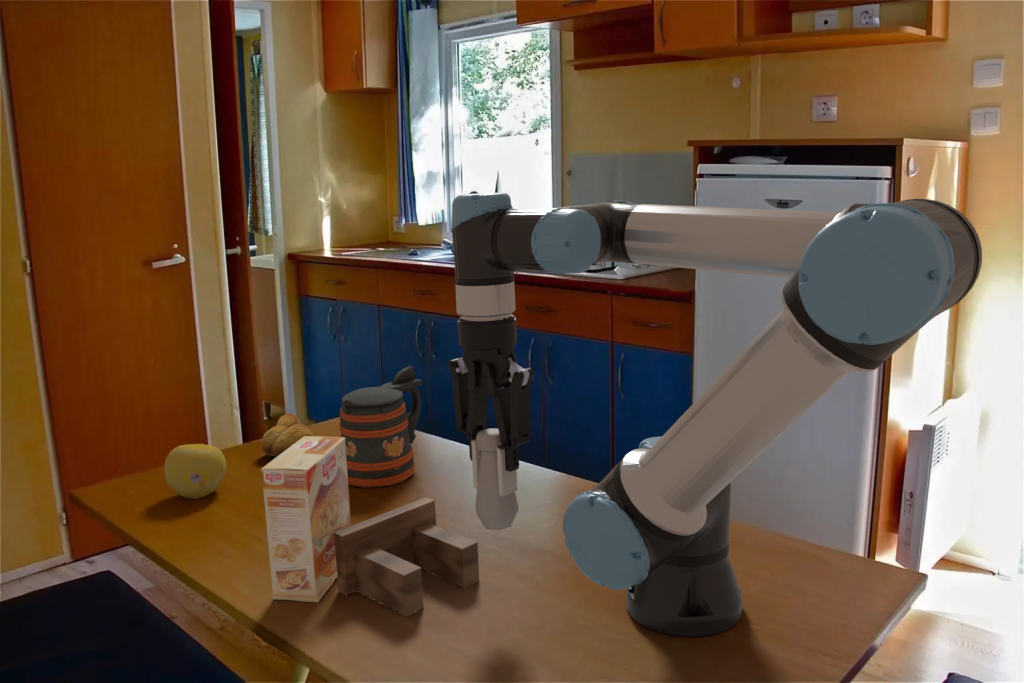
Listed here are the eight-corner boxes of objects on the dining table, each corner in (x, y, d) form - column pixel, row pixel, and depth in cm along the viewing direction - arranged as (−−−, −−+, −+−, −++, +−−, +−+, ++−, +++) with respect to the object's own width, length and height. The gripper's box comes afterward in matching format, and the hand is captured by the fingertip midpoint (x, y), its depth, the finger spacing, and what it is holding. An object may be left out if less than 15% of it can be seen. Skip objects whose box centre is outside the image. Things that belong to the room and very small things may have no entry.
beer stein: (393, 452, 186) (387, 359, 182) (445, 464, 177) (440, 367, 173) (323, 479, 171) (315, 378, 167) (376, 494, 162) (369, 389, 158)
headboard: (487, 576, 129) (485, 518, 127) (396, 622, 117) (392, 558, 115) (429, 551, 138) (426, 497, 136) (338, 591, 126) (333, 532, 124)
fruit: (235, 495, 164) (230, 444, 162) (175, 509, 158) (169, 456, 156) (219, 480, 173) (214, 431, 171) (161, 493, 167) (155, 442, 165)
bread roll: (328, 457, 184) (325, 420, 183) (287, 469, 178) (283, 431, 176) (294, 444, 193) (291, 409, 192) (254, 456, 187) (251, 419, 185)
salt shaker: (498, 512, 122) (493, 422, 120) (528, 522, 118) (523, 428, 116) (467, 525, 118) (460, 432, 116) (496, 536, 114) (490, 439, 112)
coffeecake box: (318, 603, 123) (307, 469, 119) (270, 600, 124) (258, 468, 120) (356, 556, 137) (347, 435, 133) (312, 554, 138) (302, 434, 134)
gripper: (556, 316, 110) (562, 495, 114) (462, 306, 122) (471, 468, 126) (514, 326, 105) (523, 512, 109) (420, 314, 116) (431, 483, 121)
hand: (495, 488), depth 118 cm, fingers closed on salt shaker, 4 cm apart
